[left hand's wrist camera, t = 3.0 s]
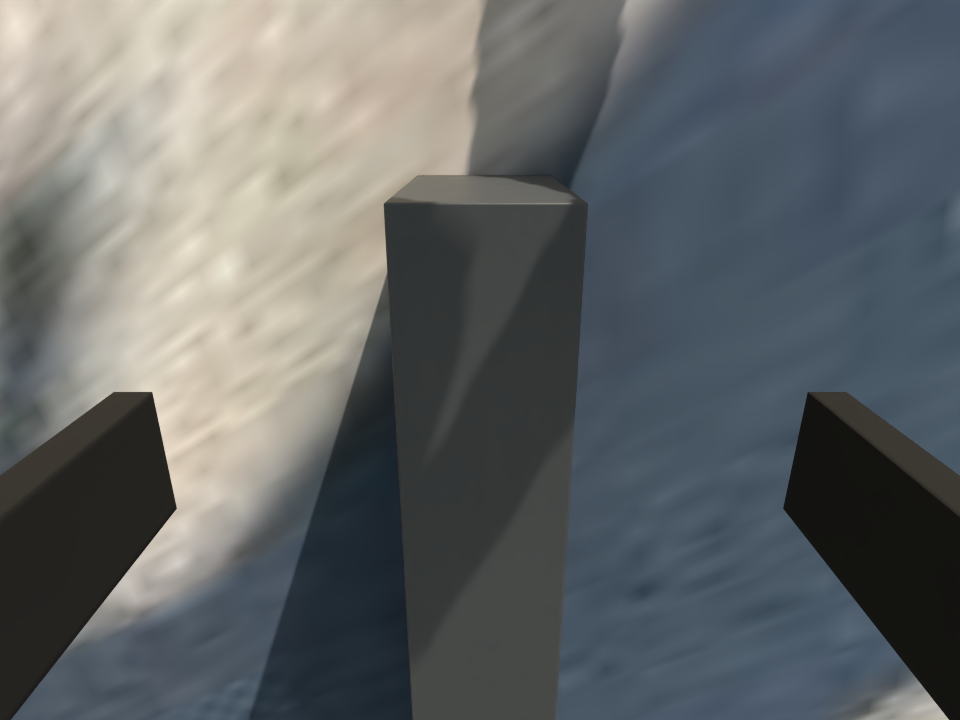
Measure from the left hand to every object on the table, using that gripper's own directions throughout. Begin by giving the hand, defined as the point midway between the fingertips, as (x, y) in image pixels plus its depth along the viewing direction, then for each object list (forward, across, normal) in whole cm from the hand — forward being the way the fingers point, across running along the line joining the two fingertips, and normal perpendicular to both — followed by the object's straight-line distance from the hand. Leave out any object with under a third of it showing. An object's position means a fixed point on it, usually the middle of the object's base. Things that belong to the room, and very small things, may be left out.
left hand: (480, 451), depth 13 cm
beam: (+12, 0, -30) cm, 32 cm away
